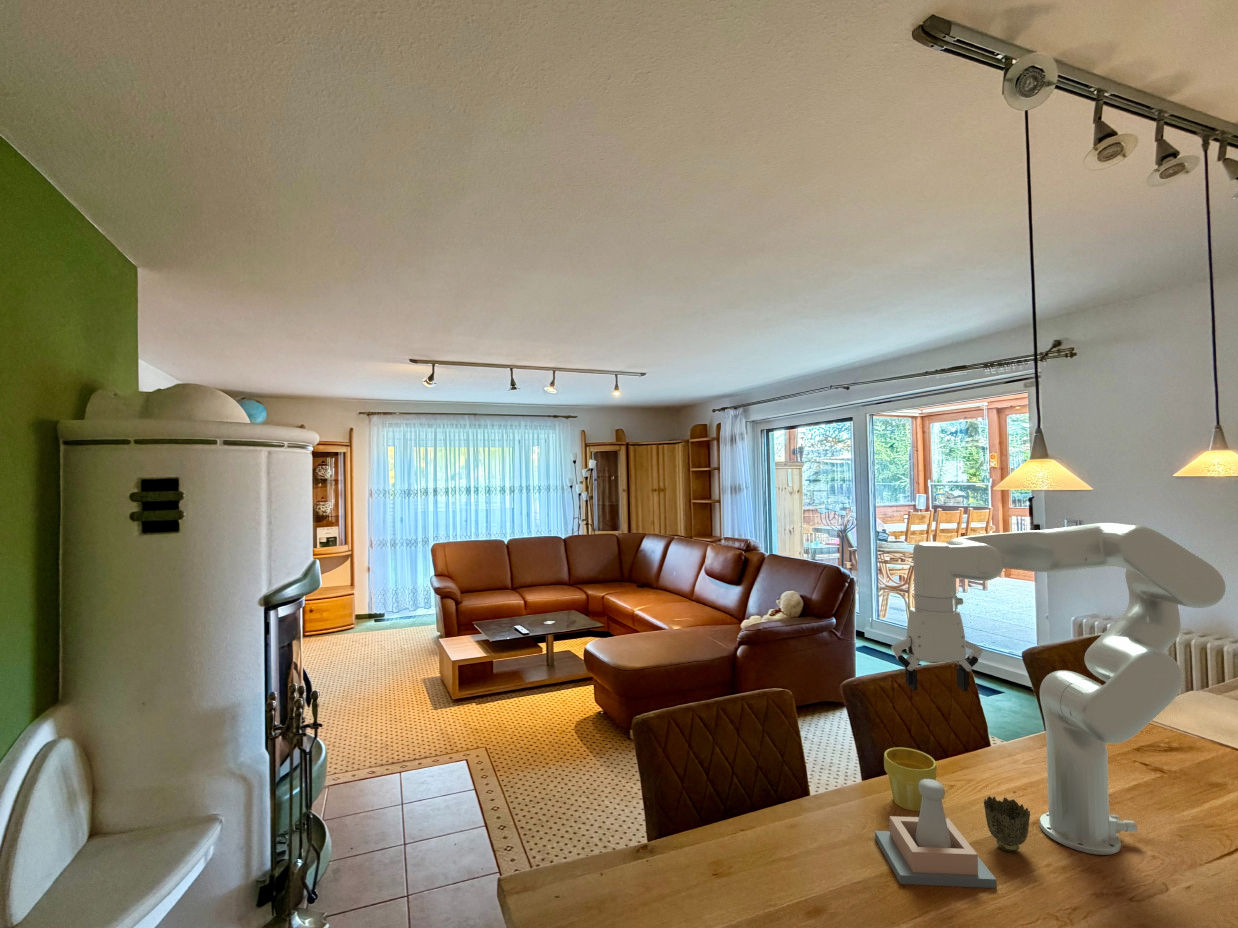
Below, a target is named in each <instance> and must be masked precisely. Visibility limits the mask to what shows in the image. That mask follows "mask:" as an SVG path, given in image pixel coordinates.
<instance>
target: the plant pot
mask: <svg viewBox="0 0 1238 928" xmlns="http://www.w3.org/2000/svg"><path fill="white" fill-rule="evenodd" d="M883 767H884V771H885V773H886V774H887V776H888V780H889V785H890V789H891V795H892V801H894V803H895V804H896V805H897V806H899V807H900V808H902V809H905V810H906V811H907V810H908V811H910V812H911V811H913V812H920V809H921V803H922V797H923V796H922V795H921V794H920V792H919V787H918V786H919V782H920V781H921V780H923V779H932V780H935V781H937V761H936V760H935V759H934V757H932V756H931V755H929V754H927V753H925V752H923V751H921V750H918V749H913V748H910V747H909V748H908V747H891V748H888V749H887V750H885V751H884V754H883Z"/></svg>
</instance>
